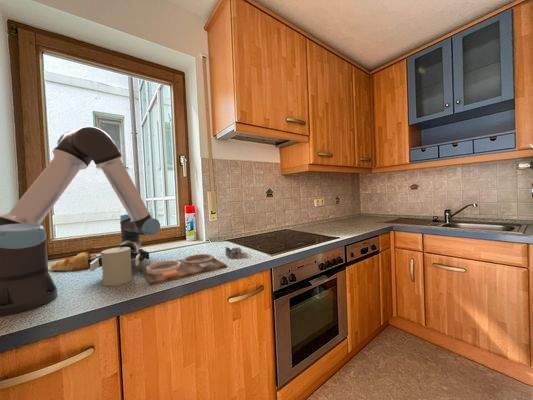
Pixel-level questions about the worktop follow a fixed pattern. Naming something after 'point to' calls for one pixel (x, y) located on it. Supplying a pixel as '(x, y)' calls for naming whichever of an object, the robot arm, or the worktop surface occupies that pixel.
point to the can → (116, 266)
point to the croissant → (73, 262)
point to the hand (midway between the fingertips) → (114, 264)
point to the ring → (164, 272)
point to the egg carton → (233, 252)
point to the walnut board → (185, 268)
